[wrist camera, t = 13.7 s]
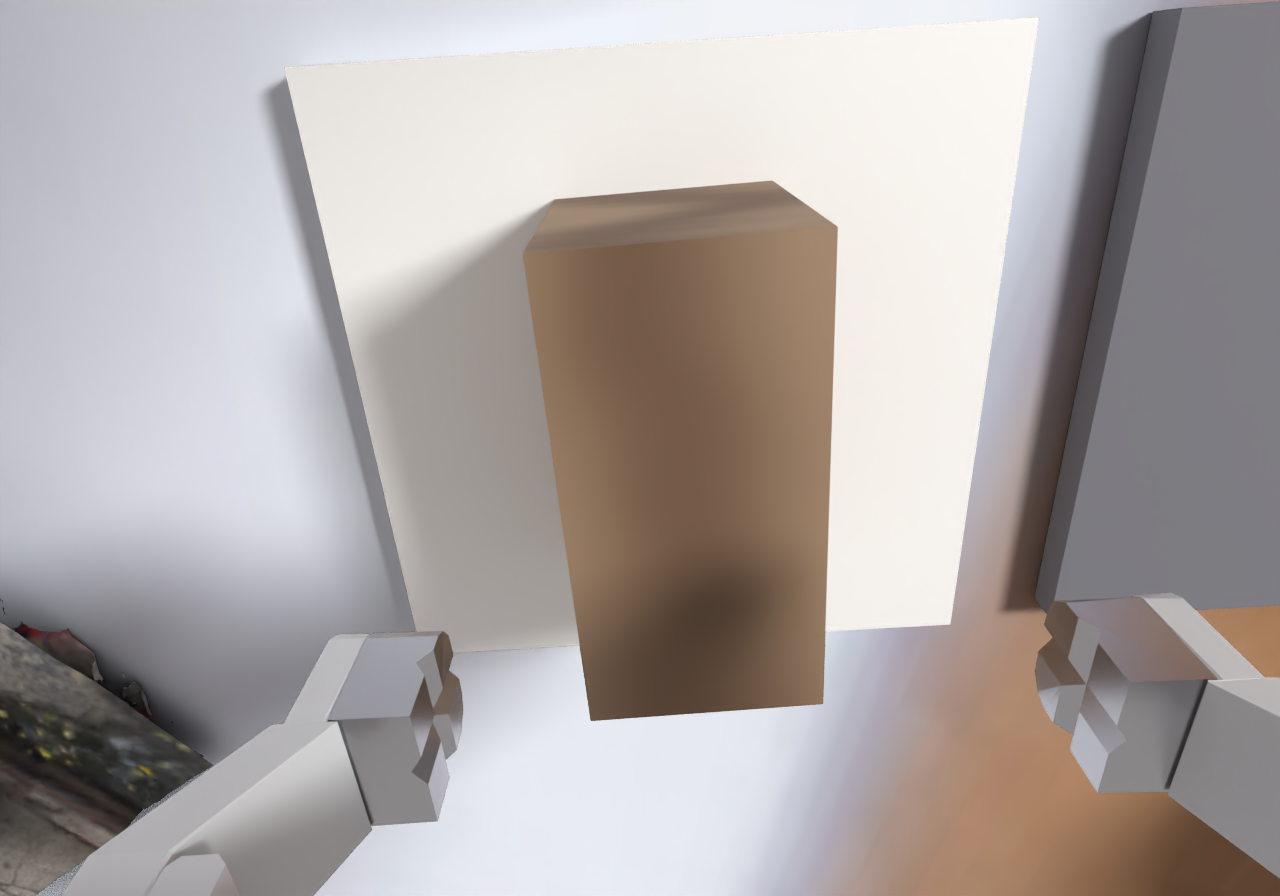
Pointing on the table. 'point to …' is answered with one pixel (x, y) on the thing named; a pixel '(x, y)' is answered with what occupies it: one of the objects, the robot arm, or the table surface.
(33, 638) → the statue
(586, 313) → the walnut brick
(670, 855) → the table surface
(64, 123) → the table surface
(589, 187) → the off-white mat
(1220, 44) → the charcoal mat
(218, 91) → the table surface
